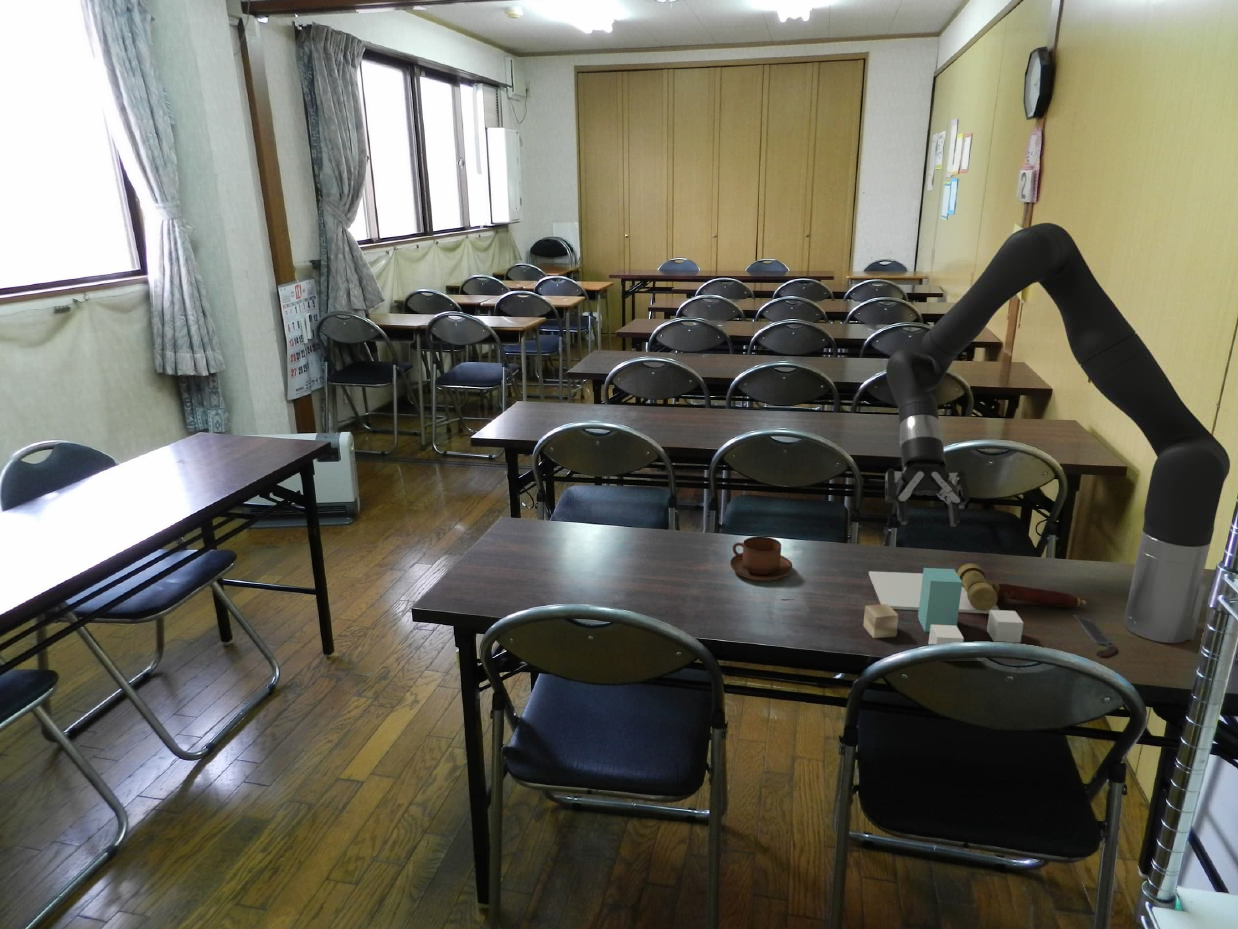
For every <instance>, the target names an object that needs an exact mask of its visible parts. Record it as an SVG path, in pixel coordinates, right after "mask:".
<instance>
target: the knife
mask: <svg viewBox="0 0 1238 929" xmlns="http://www.w3.org/2000/svg"><path fill="white" fill-rule="evenodd" d="M1072 616H1073V618H1074V619H1075V620H1076V621H1077V622H1078V624H1079V625H1080V626H1081V628H1082V629H1083V631H1085V633H1086V634H1087V635H1088V637H1089V638H1090V639H1091V641H1092V642H1093V643H1094V644H1096V645H1097V646H1105V647H1107V649H1102V650H1097V651H1096V653H1095V655H1096V657H1098V658H1103V659H1108V658H1111V657H1113V656H1114V657H1115V656H1116V655H1117V653H1118V648H1117V646H1116V645H1115V643H1113V642H1112V641H1111V640H1110V639H1109V638H1108V637H1107V636H1106V634H1105V633H1104V632H1103V631H1102V630H1101V629H1100V627H1099V626H1098V624H1096V622H1095V621H1092V620H1090V619H1087V618H1084V617H1082V616H1080V615H1076V614H1072Z"/></svg>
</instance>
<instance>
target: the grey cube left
mask: <svg viewBox="0 0 1238 929" xmlns="http://www.w3.org/2000/svg"><path fill="white" fill-rule="evenodd" d="M1023 629H1024V622H1023V620H1022V619H1021V617H1020V615H1019V614H1018V613H1017V612H1016V610H1003V609H1002V610H1001V609H999V610H990V613H989V614H988V622H987V627H986V631H987V633H988V634H989V636H990V638H991V639H992V641H993V642H994V641H1006V642H1020V643H1021V641H1022V634H1023Z"/></svg>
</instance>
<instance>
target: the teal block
mask: <svg viewBox="0 0 1238 929" xmlns="http://www.w3.org/2000/svg"><path fill="white" fill-rule="evenodd" d="M922 570H923V571H922V574H923V578H922V586H921V595H920V603H919V610H918V613H917V619H918V620H919V622H920V625H921V627H922V629H923V631H924V633H930V627H931V625H954V626H957V627H958V625H957V624H958V618H959V613H960V612H959V604H960V597H961V590H962V581H961V579H960V578H959V576H958V574H957V572H956V570H955V568H935V567H923V569H922Z"/></svg>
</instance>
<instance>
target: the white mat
mask: <svg viewBox="0 0 1238 929" xmlns="http://www.w3.org/2000/svg"><path fill="white" fill-rule="evenodd" d="M868 576H869V578H870V580H871V583H872V586H873V588H874V591H875V594H876V595H877V598H878V600H879V604H888V605H889V606H890V607H891V608H892V609H893V610H902V611H903V610H904V611H919V603H920V595H921V586H922V578H923V573H920V572H917V573H916V572H913V573H912V572H897V571H896V572H893V571H891V572H890V571H871V570H870V571H868ZM990 610H1000V608H999V606H998V605H997V603H996V604H995V606H994V607H992V608H991V609H989V610H984V611H982V610H977V609H975V608H974V607H973V606H972V605H971V604H970V602H969V600H968V597H967V592H966V590H965V588H964V587H962V590H961V597H960V604H959V612H958V613H967V614H969V613H970V614H988V615H989V613H990Z"/></svg>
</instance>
